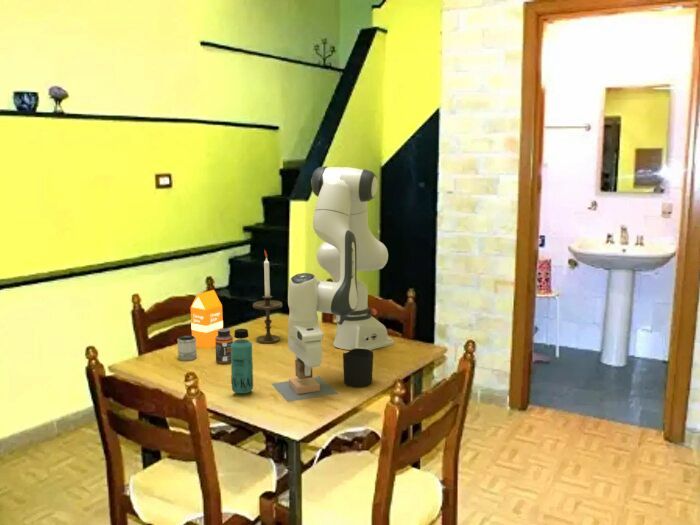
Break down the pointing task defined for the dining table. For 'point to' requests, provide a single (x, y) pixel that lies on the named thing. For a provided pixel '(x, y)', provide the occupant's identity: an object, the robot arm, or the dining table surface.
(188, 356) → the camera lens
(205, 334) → the orange juice
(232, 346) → the beverage bottle
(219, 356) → the supplement bottle
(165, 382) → the dining table surface
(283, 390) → the mat
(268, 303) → the candlestick
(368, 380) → the pen holder
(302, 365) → the block
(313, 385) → the tile
